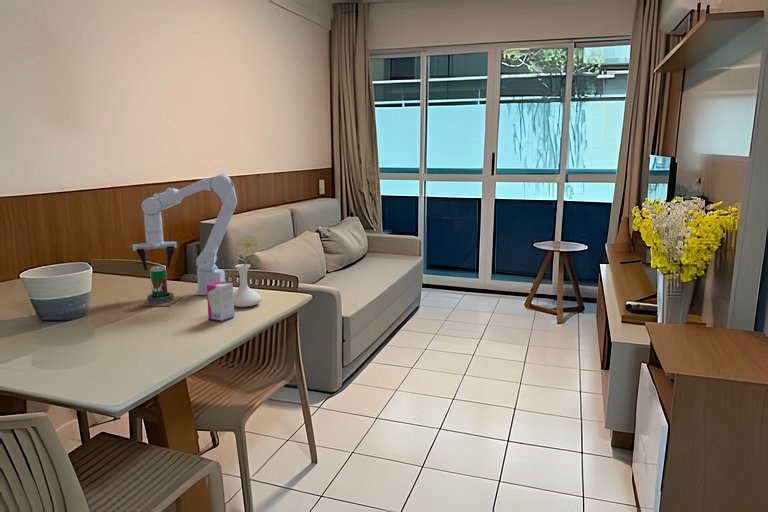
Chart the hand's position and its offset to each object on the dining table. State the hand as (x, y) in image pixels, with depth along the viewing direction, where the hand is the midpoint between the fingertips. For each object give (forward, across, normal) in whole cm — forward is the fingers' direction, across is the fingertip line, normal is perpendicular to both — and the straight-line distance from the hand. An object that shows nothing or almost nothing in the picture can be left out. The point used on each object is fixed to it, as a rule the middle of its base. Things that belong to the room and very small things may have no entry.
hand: (157, 268), depth 190 cm
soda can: (+10, -1, -10) cm, 14 cm away
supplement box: (+10, +14, -38) cm, 42 cm away
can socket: (+10, -1, -10) cm, 14 cm away
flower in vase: (+10, +25, -28) cm, 38 cm away
